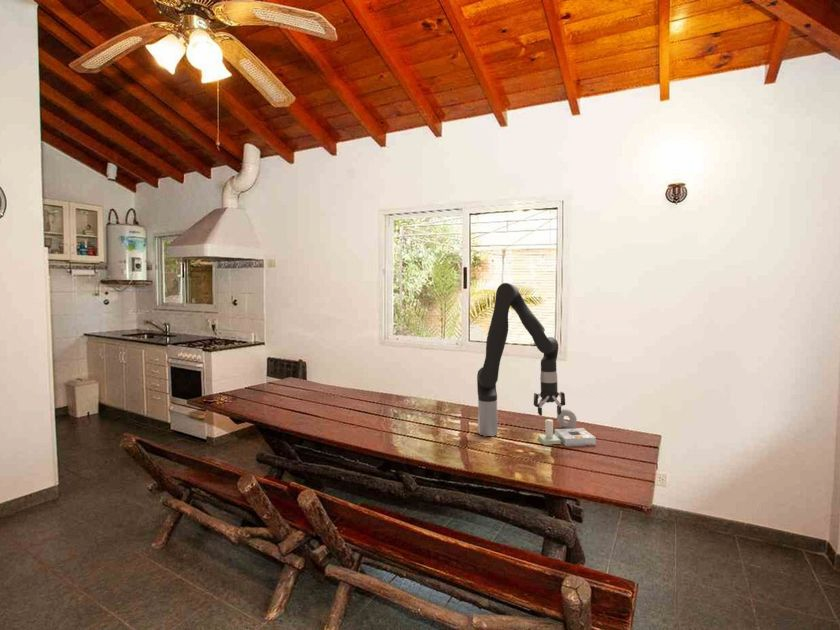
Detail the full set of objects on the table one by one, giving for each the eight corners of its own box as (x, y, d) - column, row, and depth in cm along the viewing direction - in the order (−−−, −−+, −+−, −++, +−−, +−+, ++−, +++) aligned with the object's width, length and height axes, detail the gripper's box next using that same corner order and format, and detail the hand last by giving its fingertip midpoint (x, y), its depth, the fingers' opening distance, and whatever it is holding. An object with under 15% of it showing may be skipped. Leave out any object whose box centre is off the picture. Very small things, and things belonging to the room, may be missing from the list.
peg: (546, 438, 209) (546, 421, 209) (544, 436, 213) (544, 419, 212) (553, 438, 210) (554, 421, 209) (551, 435, 213) (551, 419, 212)
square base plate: (544, 445, 207) (544, 440, 207) (538, 438, 216) (538, 434, 215) (560, 444, 207) (560, 440, 207) (553, 438, 216) (553, 433, 216)
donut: (555, 427, 232) (555, 408, 231) (558, 425, 234) (558, 406, 234) (575, 431, 225) (575, 411, 225) (577, 429, 228) (577, 409, 228)
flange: (565, 446, 205) (565, 438, 204) (554, 436, 218) (554, 428, 218) (595, 445, 205) (595, 437, 205) (583, 435, 219) (583, 427, 219)
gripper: (536, 383, 206) (537, 418, 207) (567, 381, 207) (567, 416, 208) (531, 379, 213) (532, 413, 214) (560, 378, 214) (561, 411, 215)
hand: (549, 414), depth 211 cm, fingers open, 8 cm apart
